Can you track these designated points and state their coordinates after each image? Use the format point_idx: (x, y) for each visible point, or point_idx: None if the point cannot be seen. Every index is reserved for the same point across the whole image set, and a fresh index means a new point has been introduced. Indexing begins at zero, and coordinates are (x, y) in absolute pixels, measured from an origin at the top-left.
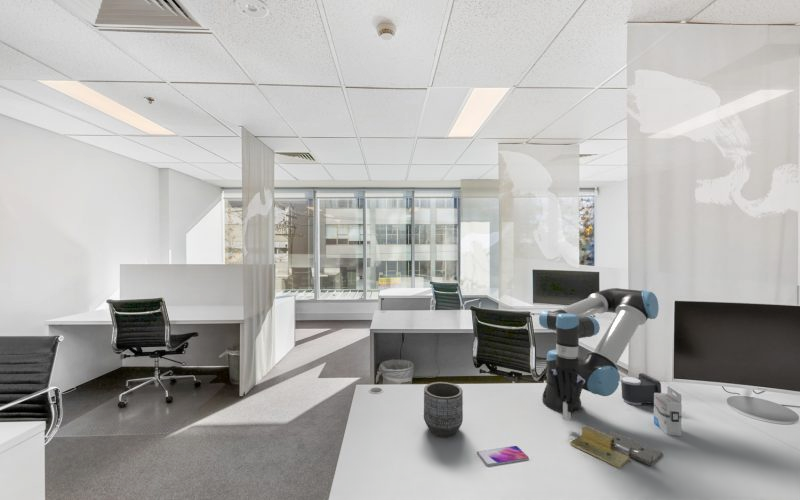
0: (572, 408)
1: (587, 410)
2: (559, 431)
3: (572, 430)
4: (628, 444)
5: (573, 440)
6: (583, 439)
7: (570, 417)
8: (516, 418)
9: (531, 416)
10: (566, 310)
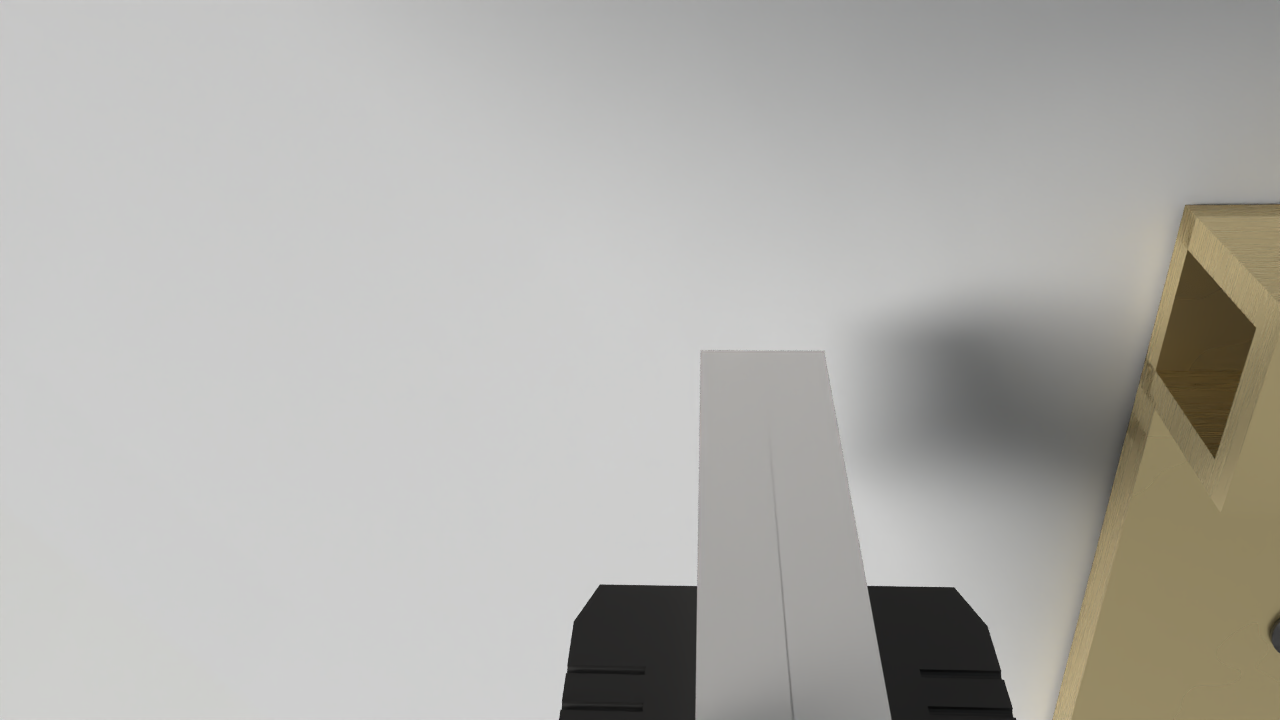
0: (1000, 715)
1: None
2: None
3: (879, 290)
4: None
5: (1087, 688)
6: (1234, 543)
7: (830, 390)
8: (12, 694)
9: (23, 452)
10: None
